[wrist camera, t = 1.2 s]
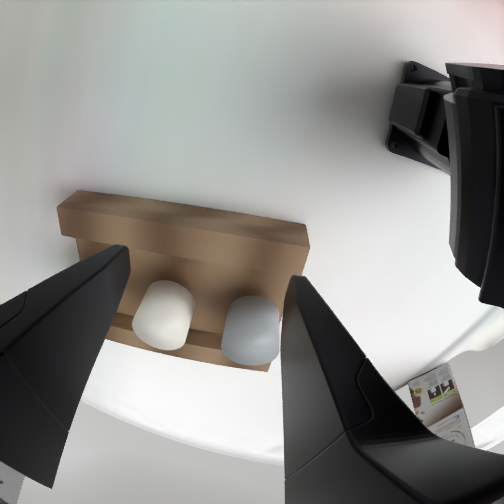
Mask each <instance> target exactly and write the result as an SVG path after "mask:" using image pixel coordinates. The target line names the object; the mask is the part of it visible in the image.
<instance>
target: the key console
mask: <svg viewBox="0 0 504 504" xmlns="http://www.w3.org/2000/svg"><path fill="white" fill-rule="evenodd" d="M57 212H58V218H59V223H60V229H61V234H62V235H64V236H69V237H74V238H76V242H77V247H78V252H79V257H80V261H82V260H84V259H86V258H88V257H90V256H92V255H94V254H96V253H98V252H100V251H102V250H104V249H106V248H108V247H110V246H112V245H114V244H120V245H125V246H127V247H128V248H129V255H130V265H131V272H130V276H129V279H128V282H127V284H126V287H125V290H124V293H123V296H122V298H121V301H120V304H119V307H118V310H117V313H116V315H115V318H114V320H113V322H112V325H111V327H110V329H109V331H108V333H107V336H106V338H105V339H108V340H111V341H115V342H118V343H122V344H126V345H129V346H133V347H137V348H141V349H145V350H149V351H153V352H158V353H162V354H166V355H171V356H175V357H180V358H185V359H190V360H195V361H200V362H206V363H211V364H217V365H223V366H229V367H235V368H242V369H249V370H256V371H264V372H268V369H269V367H270V364H271V362H269V363H267V364H263V365H257V366H248V365H242V364H238V363H236V362H233V361H232V360H230V359H229V358H227V357H226V356H225V355H224V353H223V352H222V349H221V344H222V338H223V333H224V327H225V321H226V316H227V310H228V307H229V306H230V304H231V303H232V302H233V301H234V300H236V299H238V298H241V297H244V296H259V297H263V298H266V299H268V300H270V301H271V302H273V303H274V304H275V305H276V307H277V308H278V310H279V323H280V320H281V317H282V314H283V306H284V298H285V294H286V291H287V288H288V284H289V281H290V278H291V276H292V275H299V276H301V275H302V272H303V269H304V265H305V262H306V259H307V256H308V253H309V250H310V245H309V239H308V234H307V228H306V225H303V224H298V223H293V222H287V221H282V220H276V219H270V218H265V217H259V216H253V215H247V214H241V213H235V212H229V211H223V210H217V209H211V208H204V207H198V206H191V205H185V204H178V203H171V202H164V201H157V200H150V199H142V198H135V197H127V196H120V195H112V194H103V193H95V192H87V191H78V190H77V191H76V192H75V193H74V194H72V195H71V196H70V197H69V198H67V199H66V200H65V201H64V202H62V203H61V204H60V205H59V206H57ZM160 280H168V281H173V282H176V283H178V284H180V285H182V286H184V287H185V288H186V289H188V290H189V291H190V293H191V294H192V295H193V297H194V299H195V310H194V313H193V316H192V320H191V323H190V327H189V330H188V334H187V337H186V340H185V343H184V345H183V346H182V347H180V348H178V349H175V350H161V349H157V348H154V347H152V346H150V345H148V344H146V343H145V342H143V341H142V340H141V339H140V338H139V337H138V336H137V335H136V334H135V332H134V330H133V328H132V321H133V318H134V316H135V314H136V312H137V310H138V308H139V306H140V304H141V301H142V299H143V297H144V295H145V293H146V291H147V289H148V287H149V286H150V285H151V284H152V283H154V282H156V281H160Z"/></svg>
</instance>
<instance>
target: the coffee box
mask: <svg viewBox="0 0 504 504" xmlns="http://www.w3.org/2000/svg"><path fill="white" fill-rule="evenodd" d="M408 385H409V389H410V393H411V397H412V401H413V406H414V410H415V414H416V416H417V417H418V419H419V420H420V421H421V422H422V423H423V424H424V425H425V426H426V427H427V428H428V429H429V430H430V431H431V432H433V433H434V434H436V435H437V436H439V437H441V438H443V439H446V440H449V441H453V442H456V443H459V444H463V445H466V446H470V447H474V448H475V445H474V441H473V437H472V434H471V430H470V427H469V423H468V420H467V416H466V413H465V410H464V406H463V403H462V400H461V397H460V394H459V391H458V388H457V386H456V383H455V380H454V377H453V375H452V372H451V369H450V366H449V364H448V363H446V364H444V365H442V366H440V367H438V368H436V369H434V370H432V371H430V372H428V373H426V374H424V375H422V376H419V377H417V378H415V379H413V380H410V381H409V382H408Z"/></svg>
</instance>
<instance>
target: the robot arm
mask: <svg viewBox="0 0 504 504" xmlns="http://www.w3.org/2000/svg"><path fill="white" fill-rule="evenodd" d="M411 65H413V66H414V71H413V72H412V71H411V69H410V66H411ZM445 65H446V70H447V73H448V74H449V77H450V78H448V77H446V76H444V75H442V74H440V73H438V72H436V71H434V70H432V69H430V68H428V67H426V66H424V65H421V64H419V63H417V62H414V61H408V62H406V63H405V65H404V70H403V75H402V79H401V83H400V84H398V85H397V87H396V91H395V95H394V100H393V104H392V108H391V112H390V116H389V121H390V123H391V124H390V128H389V132H388V135H387V139H386V143H385V145H386V148H387V149H388V150H389V151H390V152H392V153H395V154H398V155H401V156H404V157H407V158H410V159H413V160H416V161H419V162H421V163H424V164H427V165H429V166H432V167H435V168H437V169H440V170H442V171H444V172H445V173H447V174H448V175H449V176H451V213H450V235H449V245H450V247H451V250H452V253H453V256H454V257H455V266H456V267H457V268H458V269H459V271H460V272H461V273H462V274H463V275H464V276H465V277H466V278H468V279H469V280H470V281H472V282H473V283H474V284H476V285H477V286H478V287H480V288H481V290H480V294H479V298H478V299H479V301H480V302H481V303H485V304H489V305H494V306H498V307H501V308H504V65H494V64H479V63H445ZM392 142H395V143H396V145H395V147H393V148H391V143H392ZM130 272H131V265H130V255H129V248H128V247H127V246H125V245H120V244H114V245H112V246H110V247H108V248H106V249H104V250H102V251H100V252H98V253H96V254H94V255H92V256H90V257H88V258H86V259H84V260H82V261H80V262H78V263H76V264H74V265H72V266H70V267H69V268H67V269H65V270H63V271H61V272H59V273H57V274H55V275H53V276H52V277H50V278H48V279H46V280H44V281H42V282H41V283H39V284H37V285H35V286H33V287H32V288H30V289H28V290H27V291H25V292H23V293H21V294H19V295H18V296H16V297H14V298H12V299H10V300H9V301H7V302H5V303H3V304H1V305H0V504H17V500H18V497H19V493H20V490H21V486H22V484H23V480H24V477H25V476H27V477H28V478H31V479H32V480H34V481H36V482H38V483H40V484H42V485H44V486H46V487H49V488H51V489H52V487H53V484H54V480H55V477H56V473H57V469H58V466H59V462H60V458H61V456H62V452H63V449H64V446H65V443H66V439H67V436H68V433H69V432H68V431H69V430H70V427H71V424H72V421H73V418H74V415H75V412H76V409H77V407H78V404H79V401H80V399H81V396H82V393H83V391H84V388H85V386H86V383H87V381H88V378H89V376H90V373H91V371H92V368H93V366H94V363H95V361H96V359H97V356H98V354H99V352H100V349H101V347H102V345H103V342H104V340H105V338H106V336H107V333H108V331H109V329H110V327H111V325H112V322H113V320H114V318H115V315H116V313H117V310H118V307H119V304H120V301H121V298H122V296H123V293H124V290H125V287H126V284H127V282H128V279H129V276H130ZM365 358H366V355H365V354H364V352H363V351H362V350H361V348H360V347H359V346H358V344H357V343H356V342H355V340H354V339H353V338H352V336H351V335H350V334H349V332H348V331H347V330H346V328H345V327H344V326H343V324H342V323H341V322H340V320H339V319H338V318H337V316H336V315H335V314H334V313H333V311H332V310H331V309H330V307H329V306H328V305H327V303H326V302H325V301H324V299H323V298H322V297H321V296H320V294H319V293H318V292H317V290H316V289H315V288H314V287H313V285H312V284H311V283H310V281H309V280H308V279H307V278H306V277H305V276H299V275H292V276H291V278H290V281H289V284H288V288H287V291H286V294H285V298H284V306H283V319H282V332H281V374H282V399H283V428H284V465H285V479H286V480H285V504H504V455H502V454H497V453H493V452H489V451H485V450H481V449H477V448H474V447H470V446H466V445H463V444H459V443H456V442H453V441H449V440H446V439H443V438H441V437H439V436H437V435H436V434H434V433H433V432H431V431H430V430H429V429H428V428H427V427H426V426H425V425H424V424H423V423H422V422H421V421H420V420H419V419H418V417H417V416H416V415H415V414H414V413H413V412H412V411H411V410H410V408H409V407H408V406H407V405H406V404H405V403H404V402H403V401H402V400H401V398H400V397H399V396H398V395H397V394H396V393H395V392H394V390H393V389H392V388H391V387H390V386H389V385H388V383H387V382H386V381H385V380H384V379H383V377H382V376H381V375H380V373H379V372H378V371H377V370H376V368H375V367H374V366H373V364H372V363H371V362H370V360H369V359H368V358H366V359H365Z"/></svg>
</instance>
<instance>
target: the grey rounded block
mask: <svg viewBox="0 0 504 504" xmlns="http://www.w3.org/2000/svg"><path fill="white" fill-rule="evenodd" d="M221 349H222V352H223V353H224V355H225V356H226V357H227V358H229V359H230V360H232V361H233V362H236V363H238V364H242V365H248V366H257V365H263V364H267V363H269V362H271V361H273V360H274V359H275V358H276V357H277V356H278V354H279V310H278V308H277V307H276V305H275V304H274V303H273V302H271V301H270V300H268V299H266V298H263V297H259V296H244V297H241V298H238V299H236V300H234V301H233V302H232V303H231V304H230V306H229V307H228V310H227V316H226V321H225V327H224V333H223V338H222V344H221Z"/></svg>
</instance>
